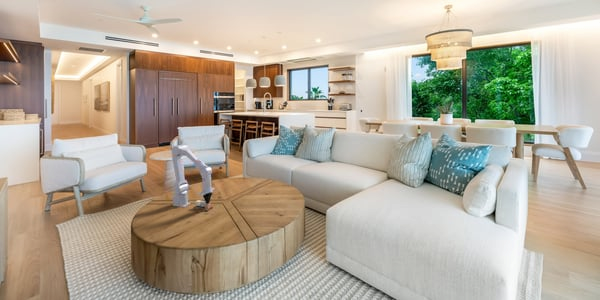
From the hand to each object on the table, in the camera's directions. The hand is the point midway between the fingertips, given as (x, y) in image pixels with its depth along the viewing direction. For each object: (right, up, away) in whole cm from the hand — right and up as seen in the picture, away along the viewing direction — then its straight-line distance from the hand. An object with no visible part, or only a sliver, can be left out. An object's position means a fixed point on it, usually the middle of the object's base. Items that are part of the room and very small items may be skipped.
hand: (207, 203), depth 205 cm
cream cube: (-7, -2, +3) cm, 8 cm away
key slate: (-4, -2, +2) cm, 4 cm away
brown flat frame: (-4, -4, +2) cm, 6 cm away
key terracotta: (0, -3, +1) cm, 3 cm away
